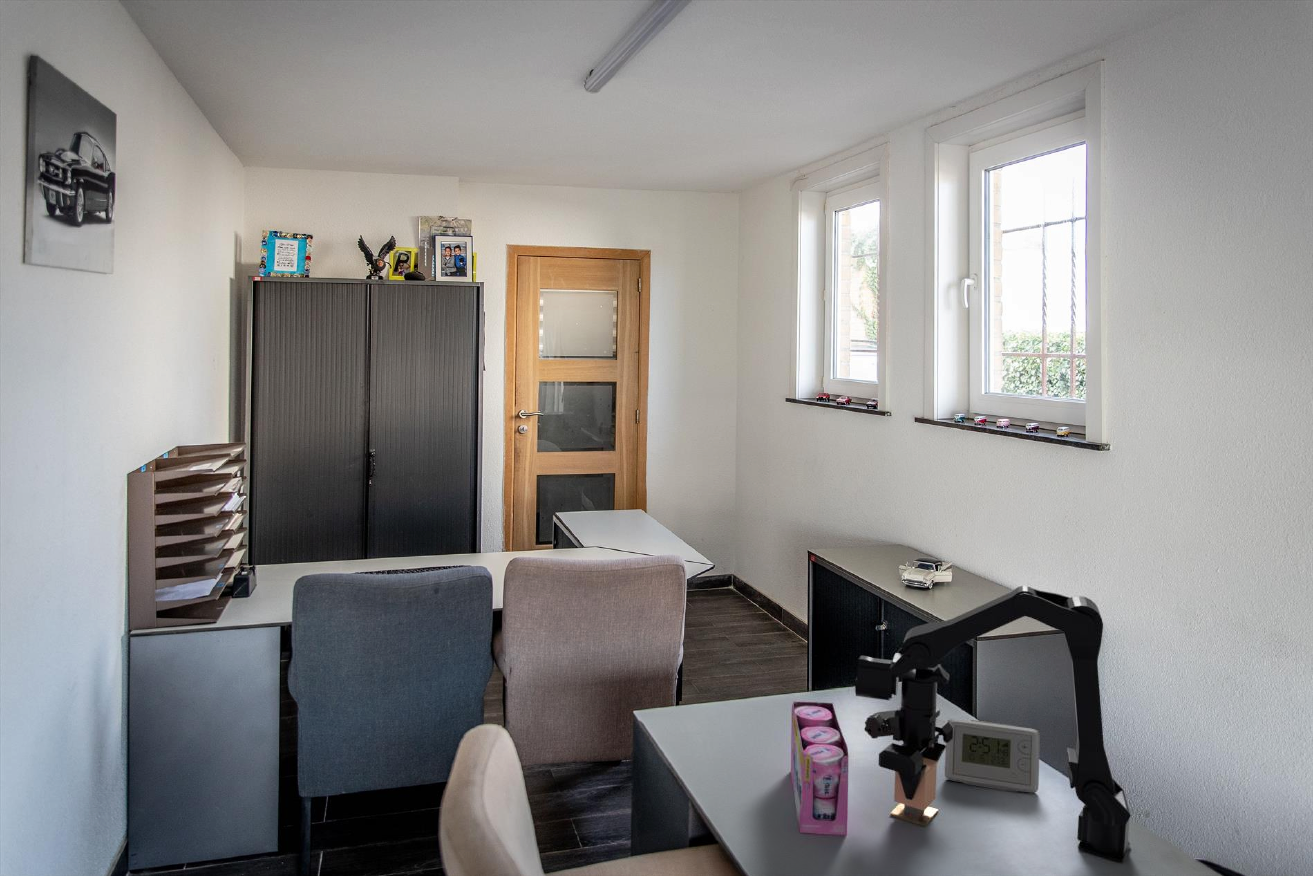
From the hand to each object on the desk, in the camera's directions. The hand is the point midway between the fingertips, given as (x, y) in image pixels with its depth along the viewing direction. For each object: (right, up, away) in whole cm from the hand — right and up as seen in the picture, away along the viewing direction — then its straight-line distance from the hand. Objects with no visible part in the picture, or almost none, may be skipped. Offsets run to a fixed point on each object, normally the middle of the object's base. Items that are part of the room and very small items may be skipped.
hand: (915, 792), depth 155 cm
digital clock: (+17, -3, +12) cm, 21 cm away
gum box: (-16, -4, +5) cm, 17 cm away
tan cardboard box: (0, -1, 0) cm, 1 cm away
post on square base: (0, -4, 0) cm, 4 cm away
